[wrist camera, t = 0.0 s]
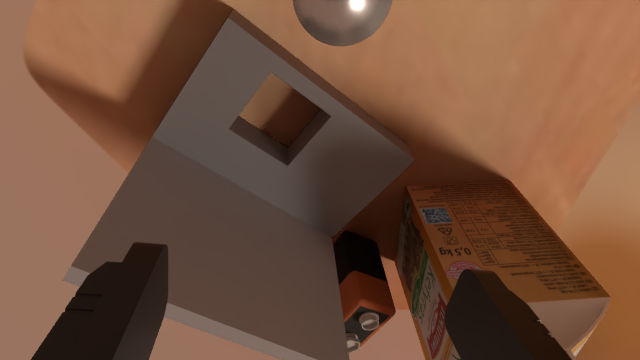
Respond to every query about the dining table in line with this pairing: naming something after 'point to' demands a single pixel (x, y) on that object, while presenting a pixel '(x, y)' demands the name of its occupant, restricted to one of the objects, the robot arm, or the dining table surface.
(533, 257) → the milk carton
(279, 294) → the grey l-shaped stand
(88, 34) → the dining table surface
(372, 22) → the rod
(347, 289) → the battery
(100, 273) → the robot arm
